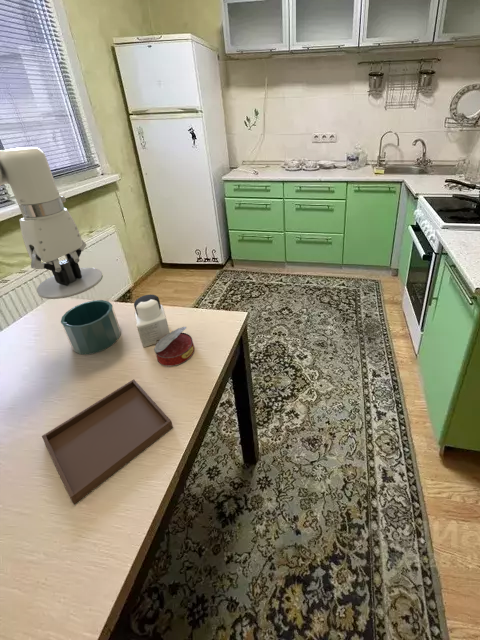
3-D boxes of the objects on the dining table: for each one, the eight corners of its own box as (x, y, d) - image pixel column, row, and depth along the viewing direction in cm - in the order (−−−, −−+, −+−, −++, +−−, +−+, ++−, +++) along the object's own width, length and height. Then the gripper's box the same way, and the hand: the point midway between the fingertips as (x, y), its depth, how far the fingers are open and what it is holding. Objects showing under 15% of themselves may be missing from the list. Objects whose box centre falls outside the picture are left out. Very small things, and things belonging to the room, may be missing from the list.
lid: (49, 308, 70) (38, 283, 67) (31, 287, 78) (20, 264, 75) (113, 282, 79) (105, 259, 76) (90, 266, 87) (83, 244, 85)
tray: (74, 504, 56) (70, 498, 55) (45, 442, 67) (41, 436, 66) (173, 427, 69) (171, 420, 68) (135, 385, 79) (133, 379, 78)
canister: (81, 361, 87) (70, 334, 83) (66, 340, 95) (54, 314, 90) (128, 337, 95) (119, 311, 91) (110, 320, 103) (101, 295, 99)
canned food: (172, 379, 86) (147, 364, 80) (163, 353, 94) (140, 337, 87) (206, 351, 88) (185, 334, 81) (195, 328, 95) (174, 310, 88)
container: (140, 332, 97) (129, 296, 91) (167, 324, 100) (158, 288, 94) (143, 348, 91) (131, 310, 85) (171, 339, 94) (162, 302, 88)
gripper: (64, 196, 78) (88, 263, 86) (-11, 218, 64) (25, 295, 73) (87, 198, 75) (109, 267, 84) (14, 222, 62) (48, 301, 70)
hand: (70, 280), depth 78 cm, fingers closed on lid, 2 cm apart
